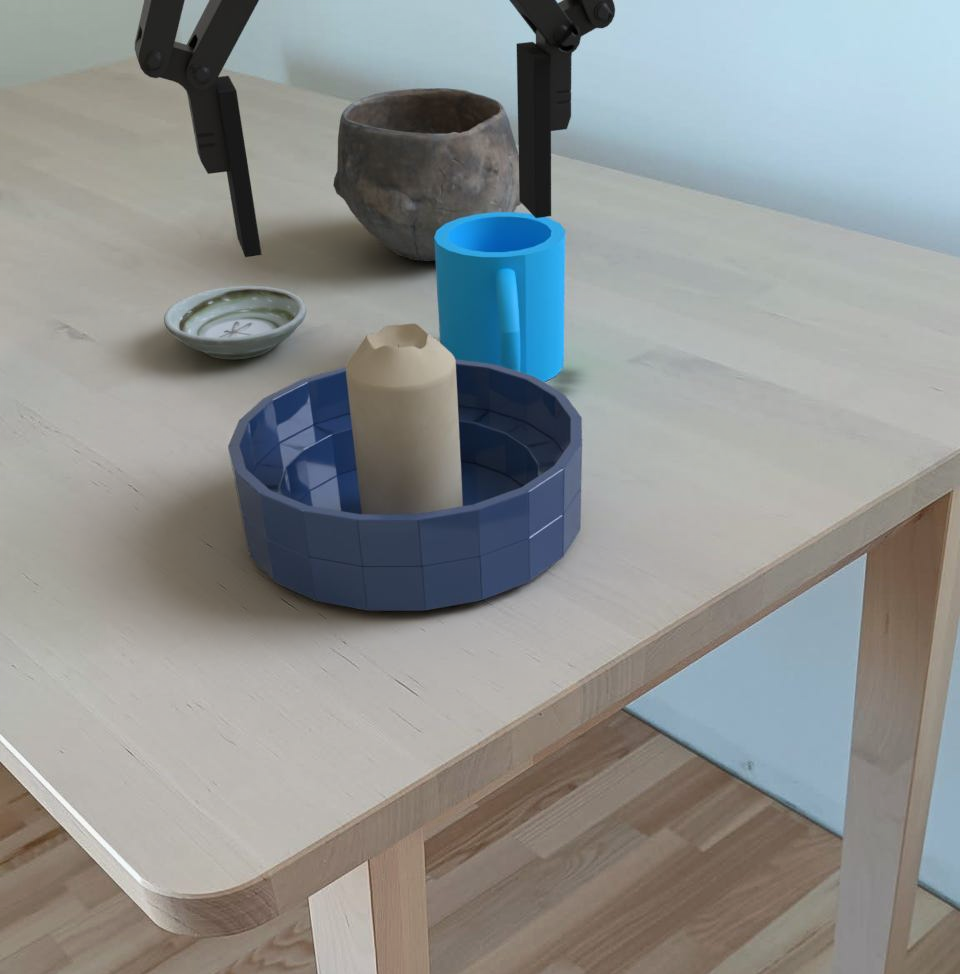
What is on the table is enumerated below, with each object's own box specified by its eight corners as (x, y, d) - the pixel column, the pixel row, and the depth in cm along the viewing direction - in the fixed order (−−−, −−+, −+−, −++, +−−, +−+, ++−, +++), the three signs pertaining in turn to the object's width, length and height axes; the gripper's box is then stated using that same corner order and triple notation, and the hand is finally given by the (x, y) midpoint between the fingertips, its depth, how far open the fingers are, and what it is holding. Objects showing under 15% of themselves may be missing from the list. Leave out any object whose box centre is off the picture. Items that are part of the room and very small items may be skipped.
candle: (452, 546, 67) (442, 359, 60) (351, 540, 68) (329, 355, 61) (471, 495, 71) (463, 313, 64) (375, 490, 72) (357, 310, 65)
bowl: (384, 296, 94) (371, 146, 87) (316, 234, 104) (300, 95, 97) (553, 262, 98) (554, 116, 91) (472, 205, 108) (467, 70, 101)
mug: (439, 342, 87) (432, 215, 82) (557, 335, 88) (558, 208, 82) (446, 420, 79) (438, 284, 73) (577, 412, 79) (579, 276, 73)
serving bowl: (228, 476, 75) (211, 385, 71) (525, 429, 78) (524, 339, 74) (273, 647, 62) (255, 546, 58) (627, 583, 65) (632, 484, 61)
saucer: (287, 377, 84) (281, 341, 82) (149, 371, 86) (141, 335, 84) (326, 320, 91) (321, 285, 89) (198, 315, 92) (191, 281, 91)
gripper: (-29, -405, 40) (129, 292, 54) (717, -442, 44) (677, 217, 58) (-25, -397, 45) (118, 236, 60) (641, -431, 49) (621, 171, 64)
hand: (395, 228), depth 59 cm, fingers open, 13 cm apart
